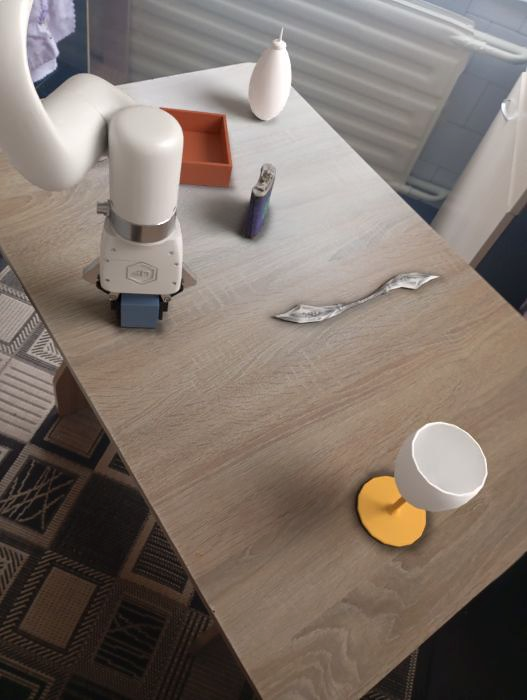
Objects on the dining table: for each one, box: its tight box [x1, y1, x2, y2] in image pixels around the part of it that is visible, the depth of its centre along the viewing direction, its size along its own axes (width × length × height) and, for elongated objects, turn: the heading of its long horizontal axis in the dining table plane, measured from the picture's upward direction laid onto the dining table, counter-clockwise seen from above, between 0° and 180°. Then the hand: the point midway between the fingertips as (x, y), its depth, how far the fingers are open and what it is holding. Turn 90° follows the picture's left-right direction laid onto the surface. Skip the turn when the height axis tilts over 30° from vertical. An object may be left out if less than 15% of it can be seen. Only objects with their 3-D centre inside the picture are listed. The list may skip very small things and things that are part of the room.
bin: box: [158, 106, 233, 188], centre depth 102 cm, size 12×15×4 cm
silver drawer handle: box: [275, 271, 441, 324], centre depth 91 cm, size 32×1×5 cm
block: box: [120, 293, 159, 329], centre depth 79 cm, size 5×5×5 cm
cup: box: [356, 421, 488, 548], centre depth 65 cm, size 9×9×16 cm
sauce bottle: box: [247, 26, 292, 121], centre depth 108 cm, size 8×8×18 cm
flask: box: [242, 163, 277, 240], centre depth 92 cm, size 9×3×11 cm, turn 166°
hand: (139, 310), depth 80 cm, fingers closed on block, 5 cm apart
